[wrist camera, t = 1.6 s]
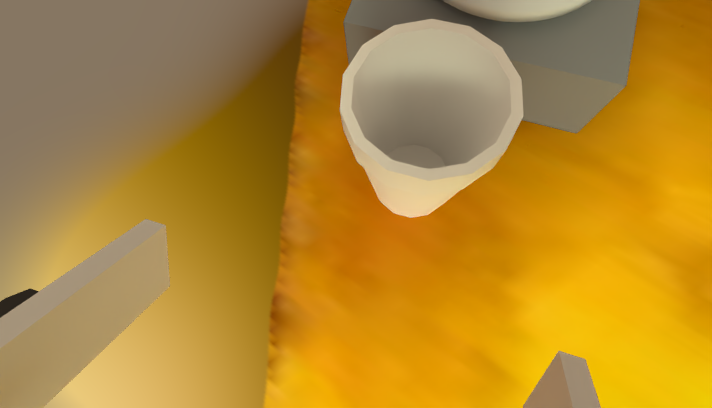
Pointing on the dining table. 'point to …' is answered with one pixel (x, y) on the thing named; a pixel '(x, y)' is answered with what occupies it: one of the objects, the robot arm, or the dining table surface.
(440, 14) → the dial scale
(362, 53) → the foam cup
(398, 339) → the dining table surface
